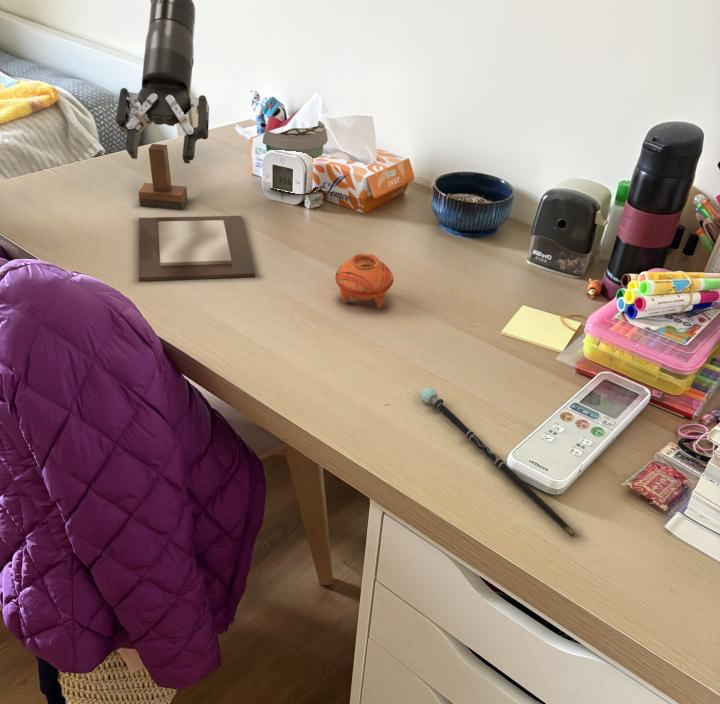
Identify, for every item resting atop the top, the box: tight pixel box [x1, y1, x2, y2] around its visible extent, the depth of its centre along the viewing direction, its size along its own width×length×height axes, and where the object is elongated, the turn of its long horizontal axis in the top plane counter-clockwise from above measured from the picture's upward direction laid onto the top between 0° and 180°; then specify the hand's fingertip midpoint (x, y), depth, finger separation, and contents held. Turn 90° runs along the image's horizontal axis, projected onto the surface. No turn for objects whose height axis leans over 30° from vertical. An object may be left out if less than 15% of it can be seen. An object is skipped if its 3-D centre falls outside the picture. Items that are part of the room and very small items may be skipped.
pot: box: [334, 253, 394, 309], centre depth 98 cm, size 8×8×7 cm
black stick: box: [421, 387, 576, 537], centre depth 76 cm, size 2×25×2 cm
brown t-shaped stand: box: [137, 143, 189, 211], centre depth 116 cm, size 7×4×9 cm, turn 88°
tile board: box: [138, 215, 256, 282], centre depth 107 cm, size 16×20×1 cm
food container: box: [262, 120, 329, 196], centre depth 124 cm, size 12×6×10 cm, turn 129°
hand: (159, 158), depth 114 cm, fingers open, 8 cm apart
